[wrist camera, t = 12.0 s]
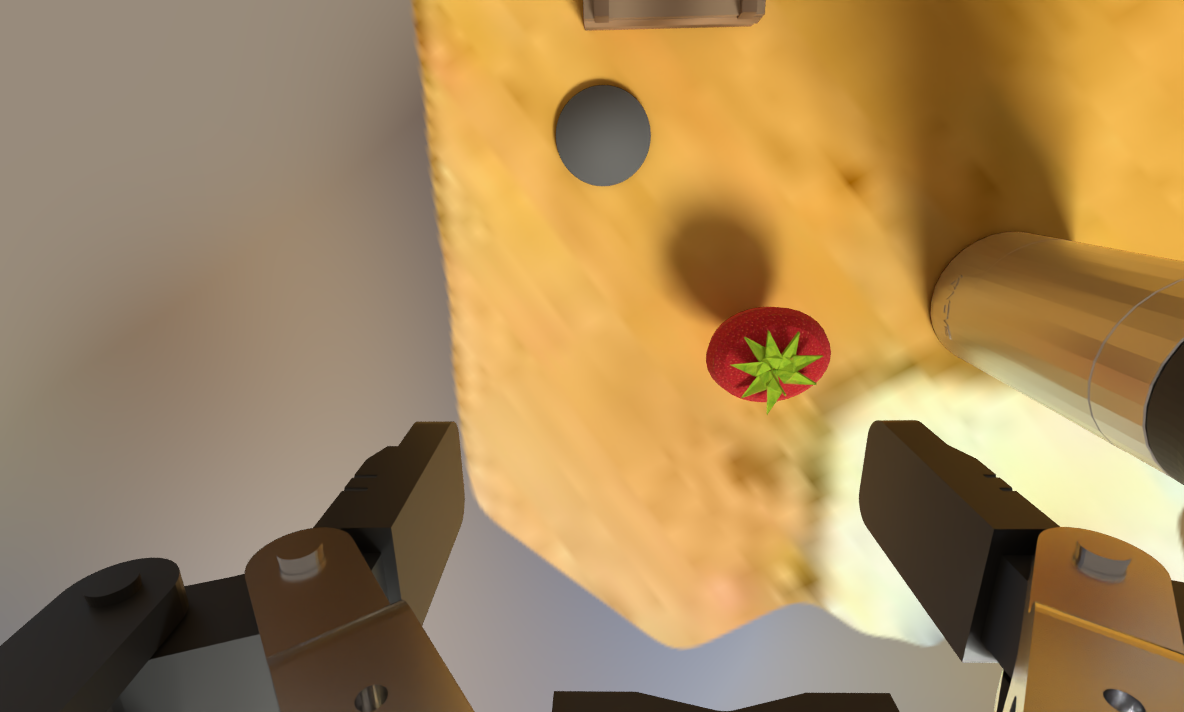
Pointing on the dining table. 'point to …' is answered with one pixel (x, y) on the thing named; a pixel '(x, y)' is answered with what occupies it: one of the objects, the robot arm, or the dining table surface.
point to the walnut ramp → (670, 13)
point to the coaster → (603, 135)
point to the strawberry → (768, 354)
